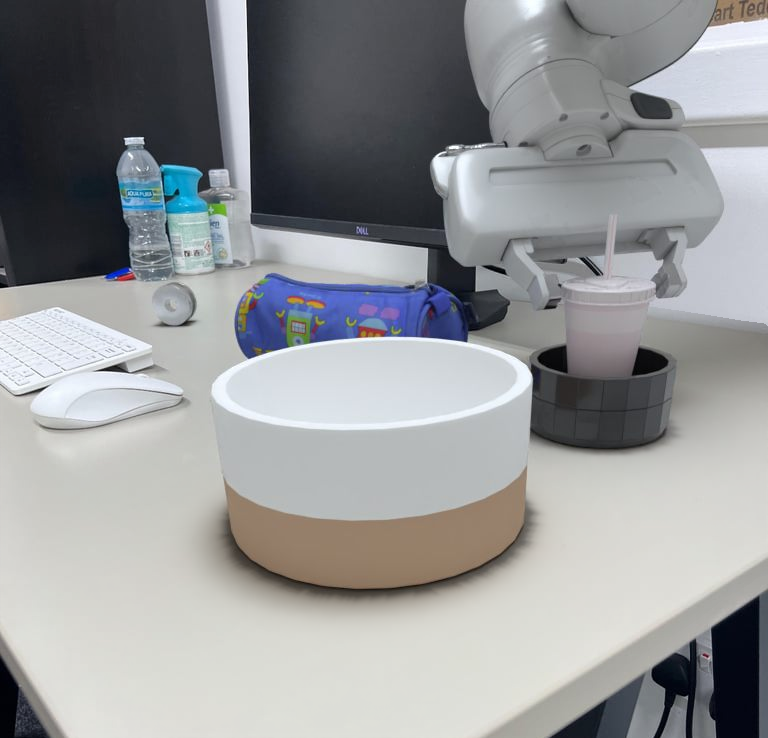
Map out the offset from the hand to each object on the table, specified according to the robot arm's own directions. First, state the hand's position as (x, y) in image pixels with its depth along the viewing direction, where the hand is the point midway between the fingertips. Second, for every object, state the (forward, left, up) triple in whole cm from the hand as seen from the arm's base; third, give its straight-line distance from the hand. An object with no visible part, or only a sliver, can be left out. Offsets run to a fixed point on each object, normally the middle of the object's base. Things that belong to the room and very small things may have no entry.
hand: (612, 299), depth 50 cm
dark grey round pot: (0, -1, -9) cm, 9 cm away
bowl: (+19, +8, -9) cm, 23 cm away
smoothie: (0, -1, -9) cm, 9 cm away
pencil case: (+15, -19, -9) cm, 26 cm away
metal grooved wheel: (+31, -53, -9) cm, 62 cm away
